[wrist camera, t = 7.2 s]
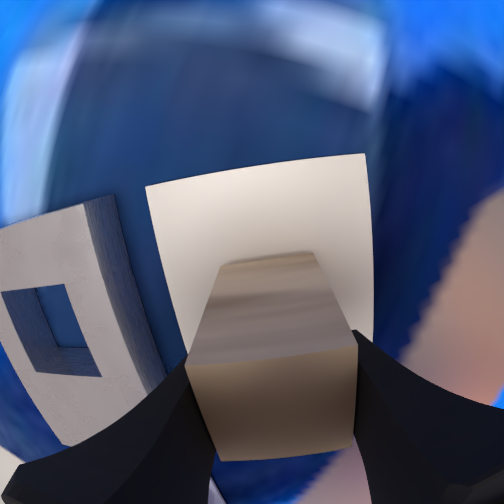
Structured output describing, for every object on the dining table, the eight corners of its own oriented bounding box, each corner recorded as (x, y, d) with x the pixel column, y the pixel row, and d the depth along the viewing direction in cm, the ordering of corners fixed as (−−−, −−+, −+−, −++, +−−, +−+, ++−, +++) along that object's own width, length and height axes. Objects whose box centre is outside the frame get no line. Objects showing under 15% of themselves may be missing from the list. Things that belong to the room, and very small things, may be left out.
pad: (366, 390, 17) (368, 396, 17) (210, 409, 18) (209, 416, 18) (360, 153, 13) (364, 153, 13) (149, 185, 14) (145, 187, 14)
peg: (319, 332, 14) (351, 447, 8) (236, 343, 15) (221, 461, 8) (313, 252, 13) (358, 345, 7) (220, 265, 14) (184, 366, 7)
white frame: (189, 429, 19) (181, 461, 16) (77, 419, 20) (62, 444, 17) (113, 194, 14) (83, 203, 11) (-5, 229, 15) (-35, 242, 12)
